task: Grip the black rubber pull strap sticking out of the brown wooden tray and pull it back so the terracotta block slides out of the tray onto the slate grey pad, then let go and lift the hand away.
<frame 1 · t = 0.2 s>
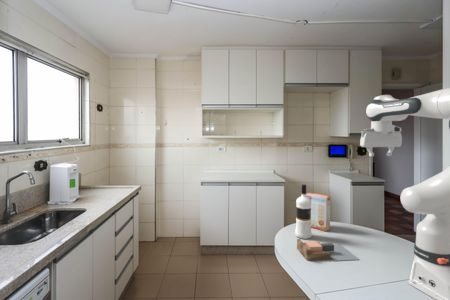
hand: (380, 156, 127), 47 cm above the table, tool pointing down, fingers open, 8 cm apart
grey pad: (337, 252, 125), on the table
vodka: (303, 236, 145), on the table
terracotta block: (313, 253, 124), on the table
brown wooden tray: (314, 253, 124), on the table
cracker box: (317, 227, 158), on the table
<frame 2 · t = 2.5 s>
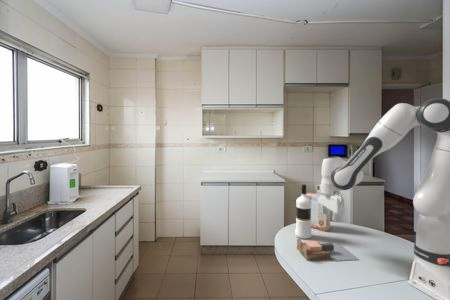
hand: (329, 217, 124), 18 cm above the table, tool pointing down, fingers open, 8 cm apart
nothing on the table moved.
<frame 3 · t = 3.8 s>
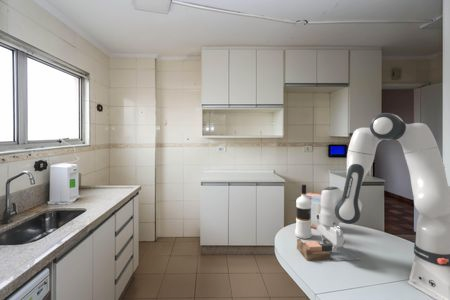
hand: (328, 247, 125), 3 cm above the table, tool pointing down, fingers open, 8 cm apart
nothing on the table moved.
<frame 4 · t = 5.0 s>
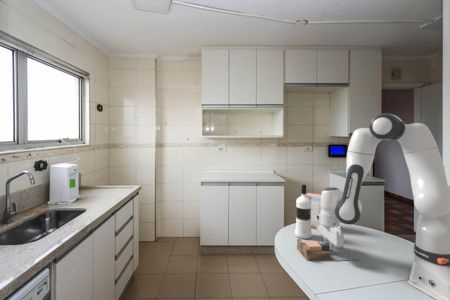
hand: (329, 247, 125), 3 cm above the table, tool pointing down, fingers closed on terracotta block, 2 cm apart
terracotta block: (312, 253, 124), on the table, touching gripper
everything else where it was.
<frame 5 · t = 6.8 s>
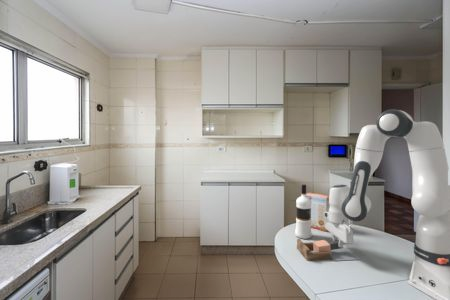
hand: (337, 245, 125), 4 cm above the table, tool pointing down, fingers closed on terracotta block, 2 cm apart
terracotta block: (322, 253, 124), on the table, tilted 6°, touching gripper
everything else where it was.
when the fingers open (3 cm above the table, at t = 9.0 s): terracotta block stays where it is, resting on grey pad.
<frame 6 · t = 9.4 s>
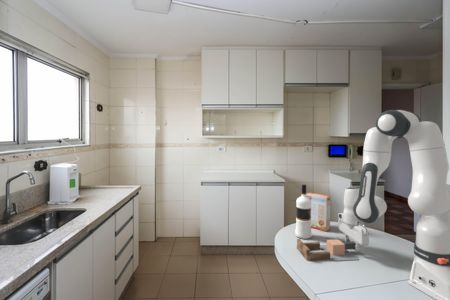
hand: (352, 246, 126), 3 cm above the table, tool pointing down, fingers open, 6 cm apart
terracotta block: (335, 252, 125), resting on grey pad
everything else where it was.
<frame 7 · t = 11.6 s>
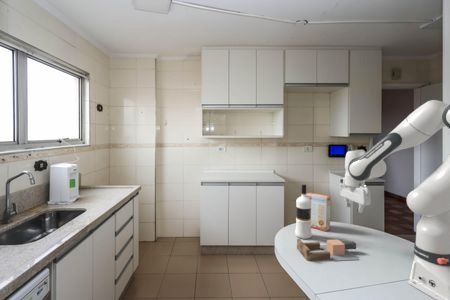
hand: (354, 209, 126), 21 cm above the table, tool pointing down, fingers open, 8 cm apart
nothing on the table moved.
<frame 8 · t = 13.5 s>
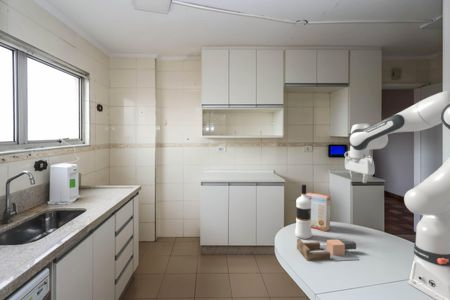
hand: (358, 180, 132), 34 cm above the table, tool pointing down, fingers open, 8 cm apart
nothing on the table moved.
at the end: terracotta block inside the target area (1.5 cm from its centre), on the table; terracotta block tilted 0°; the gripper is holding nothing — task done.
